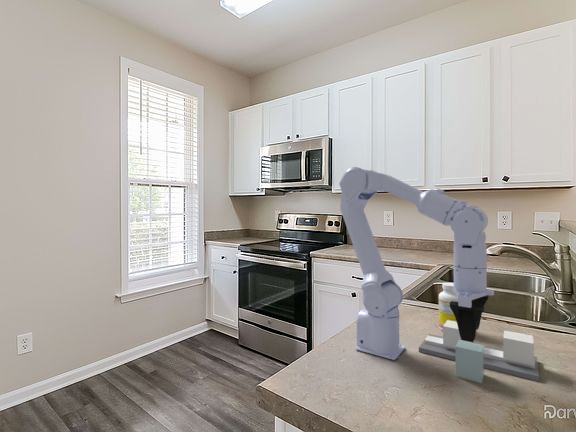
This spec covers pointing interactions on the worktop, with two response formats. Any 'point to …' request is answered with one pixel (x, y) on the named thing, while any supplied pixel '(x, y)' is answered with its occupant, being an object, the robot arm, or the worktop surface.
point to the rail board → (489, 351)
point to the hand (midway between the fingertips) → (470, 334)
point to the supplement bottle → (446, 304)
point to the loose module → (470, 361)
